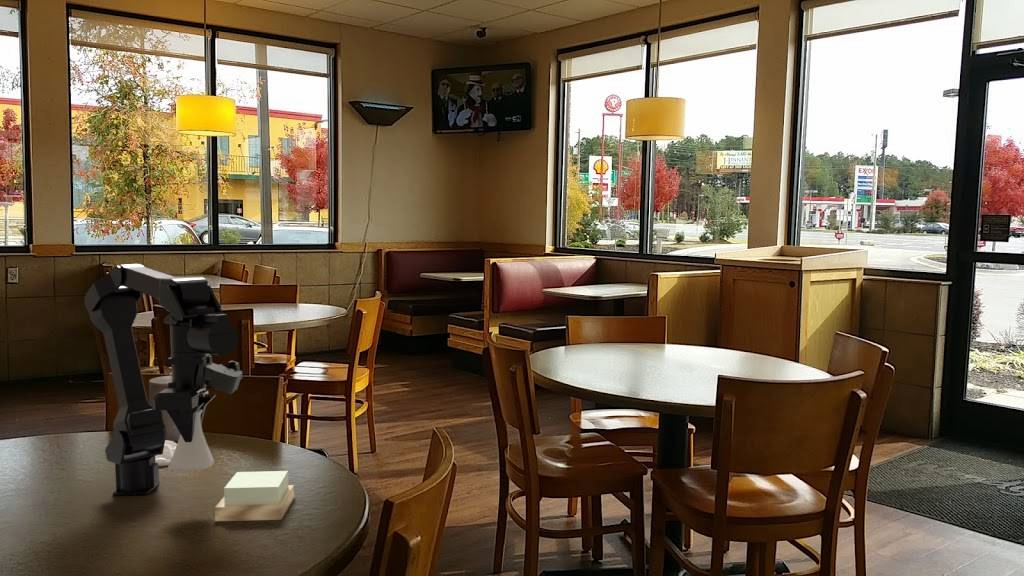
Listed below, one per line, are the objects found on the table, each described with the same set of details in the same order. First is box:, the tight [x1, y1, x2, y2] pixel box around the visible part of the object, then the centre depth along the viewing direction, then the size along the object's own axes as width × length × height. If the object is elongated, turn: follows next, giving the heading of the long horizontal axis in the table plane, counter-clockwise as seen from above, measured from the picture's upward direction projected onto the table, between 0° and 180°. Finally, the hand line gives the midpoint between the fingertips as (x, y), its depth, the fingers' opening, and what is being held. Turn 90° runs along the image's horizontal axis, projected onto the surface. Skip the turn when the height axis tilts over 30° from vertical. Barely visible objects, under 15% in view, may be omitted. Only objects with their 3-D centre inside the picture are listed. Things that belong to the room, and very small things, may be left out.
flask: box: [167, 409, 215, 472], centre depth 141 cm, size 7×7×10 cm
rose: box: [155, 440, 177, 467], centre depth 173 cm, size 10×4×10 cm
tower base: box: [214, 484, 295, 522], centre depth 143 cm, size 11×11×3 cm
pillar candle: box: [148, 373, 181, 442], centre depth 191 cm, size 10×10×15 cm
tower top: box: [223, 470, 289, 505], centre depth 143 cm, size 9×9×3 cm
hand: (192, 439), depth 141 cm, fingers closed on flask, 3 cm apart
